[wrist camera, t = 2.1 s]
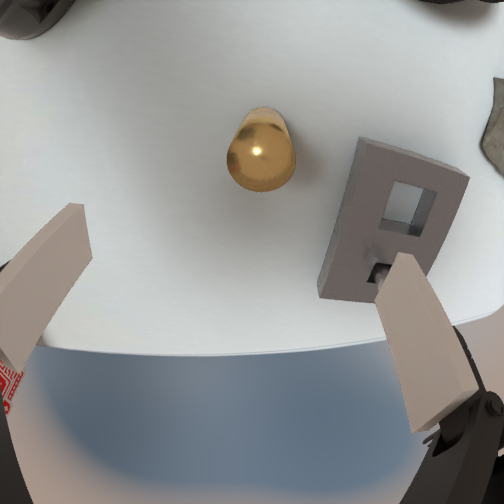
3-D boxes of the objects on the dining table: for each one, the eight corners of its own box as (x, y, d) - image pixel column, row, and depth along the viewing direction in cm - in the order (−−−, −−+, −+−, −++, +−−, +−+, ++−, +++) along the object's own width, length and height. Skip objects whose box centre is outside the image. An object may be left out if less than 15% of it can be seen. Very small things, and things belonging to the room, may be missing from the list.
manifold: (358, 136, 28) (385, 158, 21) (457, 168, 28) (494, 196, 21) (316, 282, 39) (324, 327, 32) (403, 292, 39) (420, 332, 33)
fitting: (244, 104, 27) (230, 123, 17) (288, 110, 27) (301, 133, 17) (239, 145, 29) (223, 187, 19) (281, 150, 29) (289, 196, 19)
